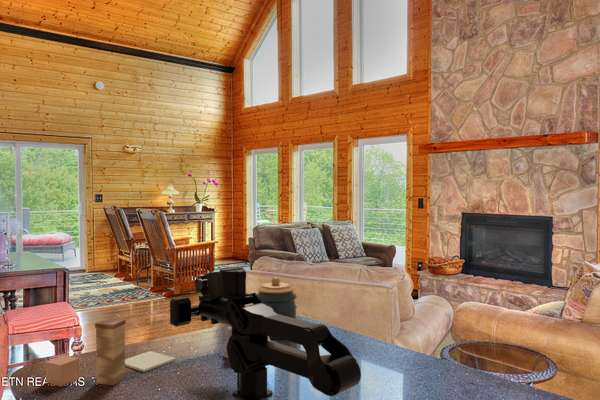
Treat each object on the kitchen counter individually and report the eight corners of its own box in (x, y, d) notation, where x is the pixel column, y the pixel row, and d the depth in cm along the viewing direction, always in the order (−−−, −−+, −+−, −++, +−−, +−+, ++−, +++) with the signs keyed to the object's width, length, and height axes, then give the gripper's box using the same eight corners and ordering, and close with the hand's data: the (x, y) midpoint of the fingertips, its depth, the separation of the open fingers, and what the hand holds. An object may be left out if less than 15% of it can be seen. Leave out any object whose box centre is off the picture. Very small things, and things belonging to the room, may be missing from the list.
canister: (279, 325, 162) (279, 272, 161) (305, 334, 152) (305, 277, 151) (246, 333, 153) (246, 276, 153) (271, 343, 143) (271, 283, 143)
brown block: (126, 377, 118) (125, 319, 117) (114, 385, 113) (113, 324, 113) (108, 375, 119) (107, 318, 119) (95, 383, 114) (95, 323, 114)
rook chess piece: (236, 359, 130) (236, 329, 130) (220, 358, 131) (220, 328, 131) (241, 353, 134) (241, 324, 134) (226, 352, 135) (226, 323, 135)
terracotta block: (79, 379, 117) (78, 358, 117) (61, 386, 113) (60, 365, 112) (64, 375, 119) (63, 355, 119) (45, 383, 115) (45, 362, 114)
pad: (175, 360, 129) (175, 358, 129) (143, 372, 121) (143, 369, 121) (150, 353, 135) (150, 350, 135) (118, 363, 127) (118, 361, 127)
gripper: (254, 271, 121) (216, 264, 132) (189, 282, 107) (153, 273, 118) (255, 316, 121) (216, 306, 132) (190, 332, 108) (153, 320, 118)
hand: (186, 300), depth 125 cm, fingers open, 9 cm apart
